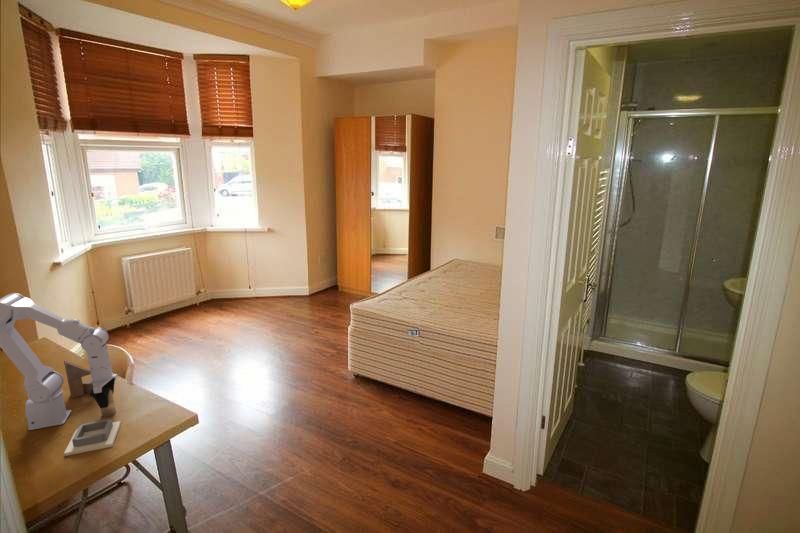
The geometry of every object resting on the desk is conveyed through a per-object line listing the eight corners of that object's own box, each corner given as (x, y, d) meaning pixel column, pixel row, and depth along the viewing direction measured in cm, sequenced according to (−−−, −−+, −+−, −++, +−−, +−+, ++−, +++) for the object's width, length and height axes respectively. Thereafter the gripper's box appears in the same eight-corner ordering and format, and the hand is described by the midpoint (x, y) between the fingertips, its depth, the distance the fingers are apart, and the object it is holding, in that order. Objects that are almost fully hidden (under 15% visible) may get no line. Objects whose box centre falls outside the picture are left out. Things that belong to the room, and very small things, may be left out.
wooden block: (70, 394, 154) (61, 350, 149) (104, 383, 162) (97, 340, 157) (72, 398, 152) (63, 353, 147) (107, 387, 159) (99, 343, 155)
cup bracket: (64, 456, 123) (62, 445, 122) (77, 431, 134) (75, 422, 133) (112, 446, 127) (110, 436, 127) (121, 423, 138) (119, 414, 137)
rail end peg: (100, 417, 141) (96, 396, 139) (103, 411, 144) (99, 390, 142) (114, 415, 142) (110, 394, 140) (117, 408, 146) (113, 388, 144)
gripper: (109, 373, 134) (116, 410, 137) (119, 353, 147) (125, 388, 150) (82, 377, 131) (90, 415, 135) (95, 357, 144) (101, 392, 148)
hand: (107, 401), depth 142 cm, fingers open, 7 cm apart
